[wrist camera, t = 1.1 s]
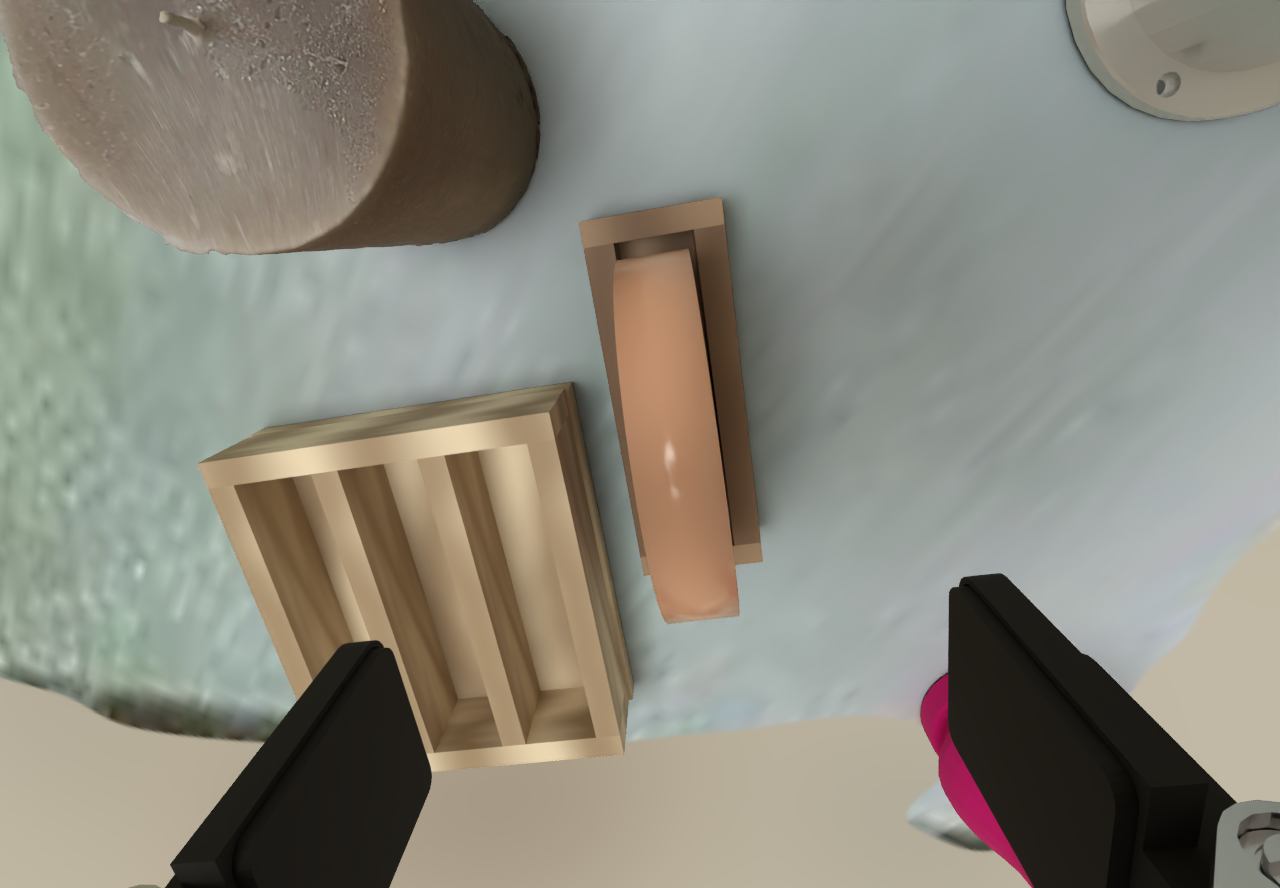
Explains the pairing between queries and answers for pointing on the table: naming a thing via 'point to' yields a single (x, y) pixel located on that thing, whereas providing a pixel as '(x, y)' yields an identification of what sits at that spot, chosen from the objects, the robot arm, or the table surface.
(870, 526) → the table surface
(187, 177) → the pillar candle
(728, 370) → the narrow wooden tray
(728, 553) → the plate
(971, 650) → the robot arm
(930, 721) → the pepper mill
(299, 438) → the rack
